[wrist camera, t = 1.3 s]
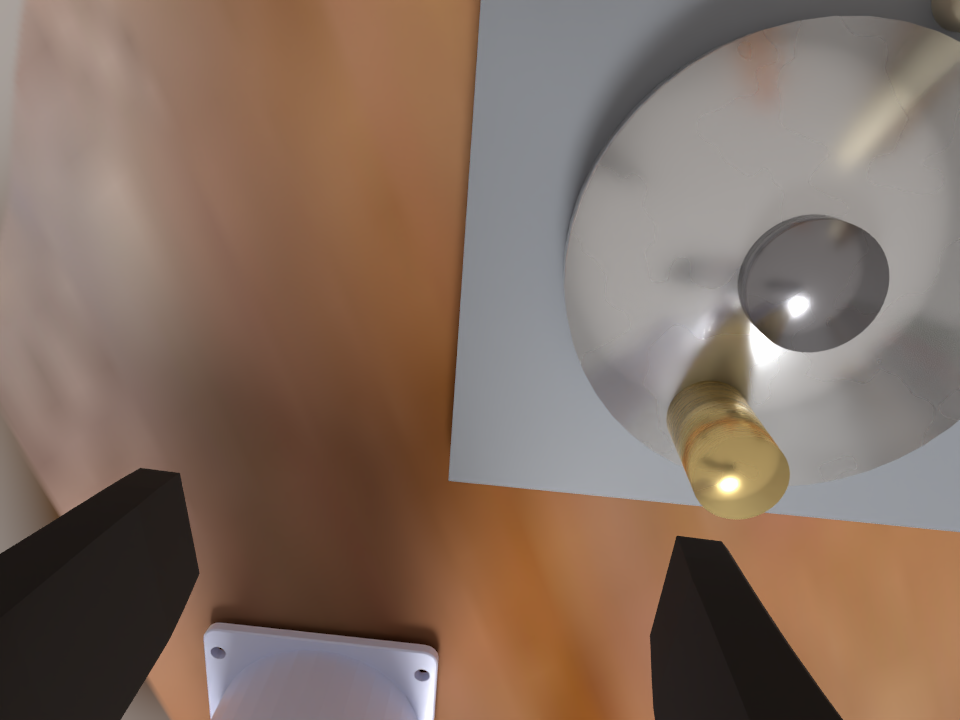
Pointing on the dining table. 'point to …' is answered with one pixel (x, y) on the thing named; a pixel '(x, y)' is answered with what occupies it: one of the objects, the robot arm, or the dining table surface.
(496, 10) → the jig board
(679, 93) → the flange plate
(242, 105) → the dining table surface
